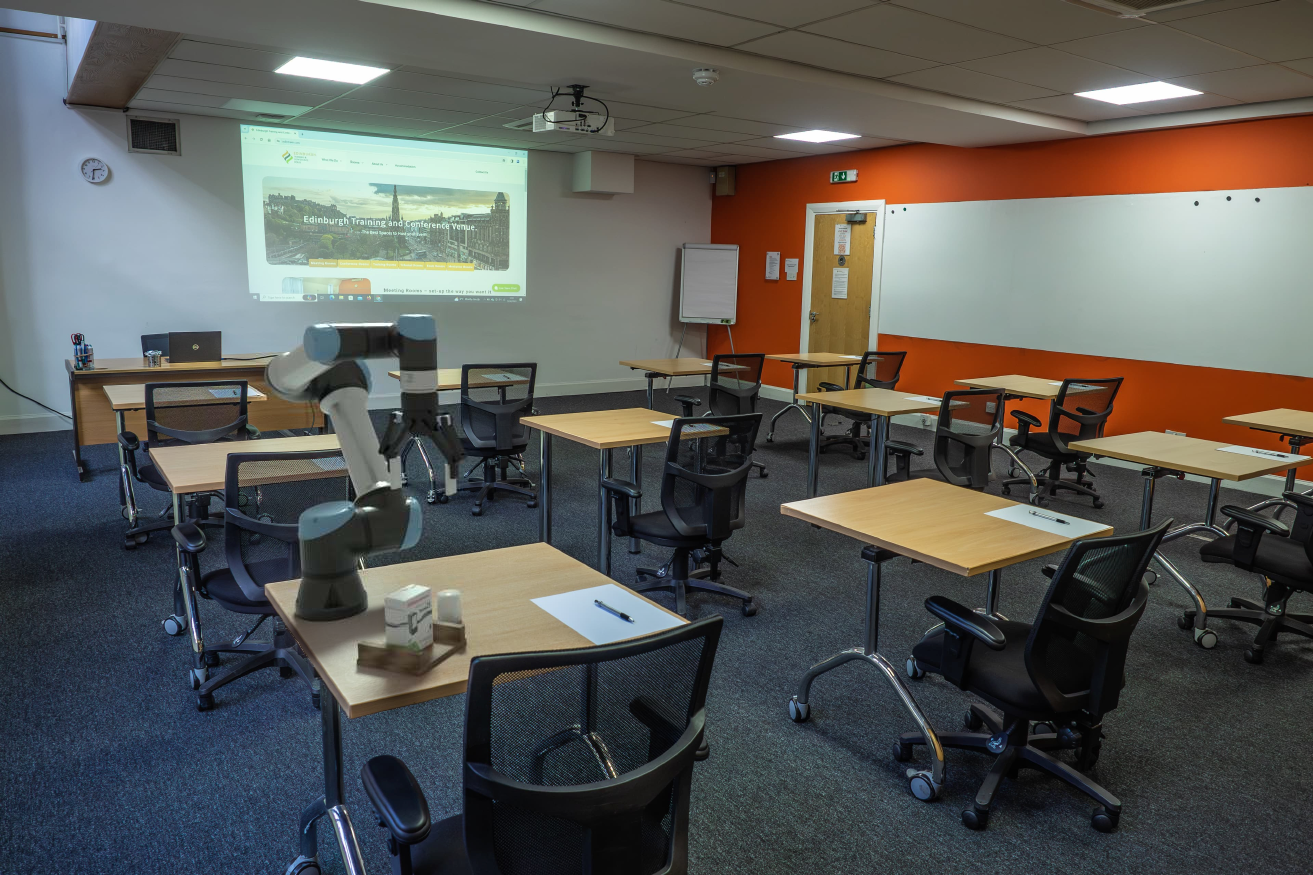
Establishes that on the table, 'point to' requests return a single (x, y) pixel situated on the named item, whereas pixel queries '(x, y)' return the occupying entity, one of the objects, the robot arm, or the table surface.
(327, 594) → the robot arm
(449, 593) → the white cylinder
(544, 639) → the table surface
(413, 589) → the ink box
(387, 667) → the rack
